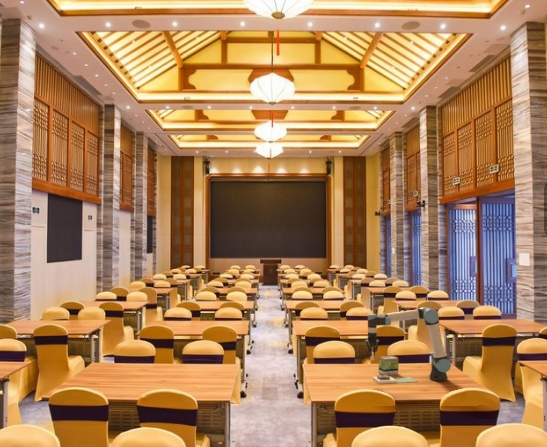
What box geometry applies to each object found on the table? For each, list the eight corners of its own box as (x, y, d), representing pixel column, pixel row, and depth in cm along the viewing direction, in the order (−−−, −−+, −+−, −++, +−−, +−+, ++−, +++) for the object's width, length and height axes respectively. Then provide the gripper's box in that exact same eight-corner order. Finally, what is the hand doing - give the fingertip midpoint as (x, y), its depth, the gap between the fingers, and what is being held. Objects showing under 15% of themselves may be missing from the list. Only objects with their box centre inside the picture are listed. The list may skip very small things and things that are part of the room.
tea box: (384, 375, 432) (384, 359, 433) (378, 373, 441) (378, 356, 442) (398, 374, 438) (398, 357, 438) (392, 371, 447) (392, 355, 448)
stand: (390, 378, 424) (390, 376, 424) (396, 382, 410) (396, 380, 410) (372, 379, 421) (372, 376, 421) (378, 383, 408) (378, 381, 408)
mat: (410, 377, 427) (410, 377, 427) (417, 381, 413) (417, 381, 413) (391, 378, 424) (391, 377, 424) (397, 382, 410) (397, 382, 410)
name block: (386, 377, 419) (386, 375, 420) (389, 379, 414) (389, 377, 414) (377, 377, 418) (377, 375, 418) (379, 379, 412) (379, 377, 412)
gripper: (377, 331, 421) (378, 358, 420) (363, 331, 418) (363, 359, 417) (381, 332, 413) (381, 360, 412) (366, 333, 411) (366, 361, 410)
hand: (372, 359), depth 415 cm, fingers closed
